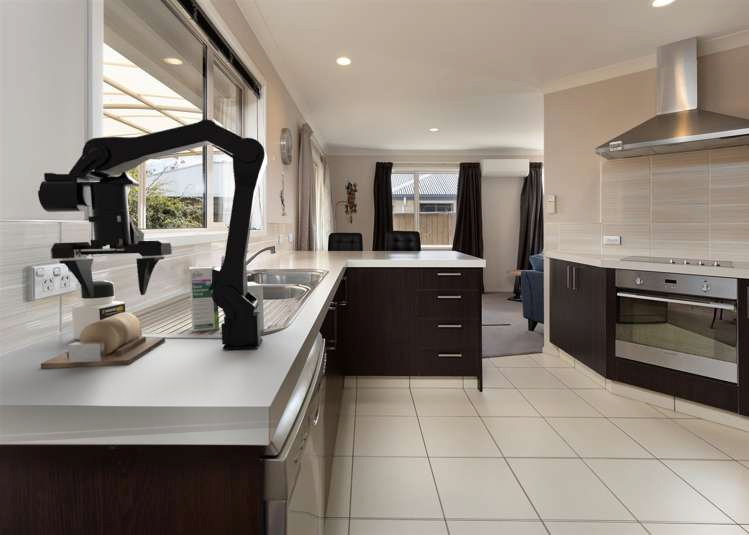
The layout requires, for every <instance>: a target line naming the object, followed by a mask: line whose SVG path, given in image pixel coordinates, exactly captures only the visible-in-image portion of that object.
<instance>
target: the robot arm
mask: <svg viewBox="0 0 749 535" xmlns="http://www.w3.org/2000/svg"><path fill="white" fill-rule="evenodd" d="M206 146H211V147H213V148H215V149H216V150H218V151H220V152H221V153H223V154H225V155H227V156H228V157H229V158H231V159H232V170H233V179H234V180H233V181H234V192H233V198H232V205H231V212H230V220H229V226H228V233H227V239H226V247H225V254H224V259H223V262H222V264H221V266H217V267H216V268H214V269H212V283H211V287H210V288H209V291H212V290H213V291H212V299H213V301H214V302H215V304H216V305H217V306H218V308H219V309H222V311H223V314H224V316H223V322H222V323H221V344H222V345H223V346H222V350H226V351H227V350H240V349H241V350H245V349H248V350H249V349H258V348H259V346H260V345H261V344H262V342H263V338H262V336H261V334H262V333H261V331H260V312H255V310H256V309H257V306H258V303H259V300H258V299H257V298H256V297H255V296H254V295H252V294H251V293H250V292H249V291H248V282H249V281H248V270H247V254H248V248H249V243H250V237H251V236H250V235H251V228H252V221H253V214H254V208H255V200H256V195H257V190H258V188H259V186H260V184H261V181H262V178H263V176H264V173H265V170H266V167H267V163H268V155H267V152H266V150H265V148H264V146H263V145H262V143H261V142H260V141H258V140H257V139H255V138H252V137H241V136H240V135H238V134H237V133H235V132H233V131H231V130H229V129H227V128H224V127H223V126H221V125H218V124H217V123H216V122H215V121H214V120H212V119H210V118H209V119H208V118H206V119H201V120H199V121H197V122H193V123H189V124H184V125H181V126H176V127H172V128H168V129H165V130H160V131H156V132H151V133H147V134H146V133H145V134H142V135H139V136H131V137H129V136H105V137H102V136H101V137H94V138H91V139H88V140H87V141H86V142H85V144H84V147H83V148H82V153H81V155H80V157H79V158H78V160H77V161H76V163H74V165H73V166H72V168H70V171H69V172H68V173H54V172H44V173H43V177H44V178H43V180H42V181H41V182H40V185H39V190H37V196H38V201H39V203H40V205H41V207H42V208H43V210H44V211H45V212H48V213H51V212H52V213H60V212H61V213H62V212H63V213H64V212H65V213H66V212H69V213H70V212H85V211H87V209H88V208H89V207H91V213H92V215H91V216H88V222H89V223H92V227H93V239H90V242H89V241H78V242H77V241H74V242H54V243H53V245H52V246H51V248H50V258H51V260H56V259H58V260H59V259H61V260H59V264H64V266H66V267H67V268H68V270H69V271H70V272H71V273H72V275H73V276H74V277H75V279H76V280H77V282H78V283H79V285H80V287H81V286H82V288H83V289H84V291H85V293H86V294H87V296H88V297H93V295H94V287H93V281H94V280H93V274H92V272H93V271H92V265H93V262H94V258H89V256H90V255H118V254H119V255H121V254H122V255H123V254H127V255H128V254H139V255H140V256H141V257H138V258H136V269H137V278H138V279H137V281H138V289H139V293H140V295H141V296H145V295H146V293H147V289H148V287H149V284H150V280H151V277H152V273H153V271H154V269H155V267H156V265H157V264H158V262H159V261H161V260H164V259H165V258H166V257H165V256H167V255H172V254H173V253H172V245H171V242H170V241H169V240H168V239H152V240H150V239H146V240H144V239H145V232H143V231H142V230H141V229H139V228H138V227H136V226H135V225H134V219H133V217H132V216H130V214H129V213H130V212H129V200H128V198H129V197H128V187H139V186H140V183H139V182H138V181H137V180H136V179H134V178H133V177H132V176H131V174H130V173H128V172H129V171H131V170H133V169H135V168H137V167H138V166H141V164H143V163H145V162H147V161H149V160H152V159H157V158H162V157H166V156H168V155H173V154H177V153H181V152H186V151H189V150H193V149H198V148H201V147H206ZM107 246H109V248H104V247H107ZM87 257H88V258H87Z"/></svg>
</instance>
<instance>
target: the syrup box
mask: <svg viewBox="0 0 749 535" xmlns="http://www.w3.org/2000/svg"><path fill="white" fill-rule="evenodd" d="M214 268H217V267H216V265H208V266H207V265H205V266H189V268H188V272H189V273H188V274H189V275H188V277H189V292H190V294H189V295H190V308H191V310H190V311H191V328H192V332H193V333H196V332H207V331H214V330H215V331H216V330H219V329H220V319H219V318H220V317H219V316H220V315H219V307H218V306H217V305H216V304H215V302H214V301H213V299H212V291H213V290H212V291H209V288H210V287H211V283H212V269H214Z"/></svg>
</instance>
